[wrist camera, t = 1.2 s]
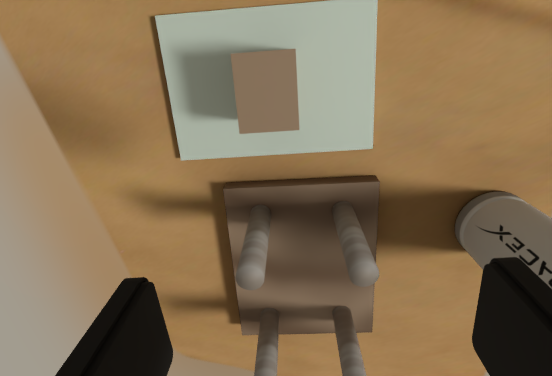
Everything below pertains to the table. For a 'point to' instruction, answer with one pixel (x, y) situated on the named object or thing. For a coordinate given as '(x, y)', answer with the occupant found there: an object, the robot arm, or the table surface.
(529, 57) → the table surface
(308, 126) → the shelf board
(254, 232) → the peg stand
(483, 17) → the table surface
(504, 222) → the travel mug
